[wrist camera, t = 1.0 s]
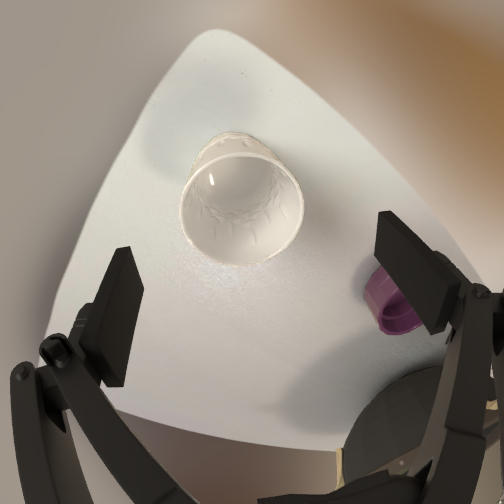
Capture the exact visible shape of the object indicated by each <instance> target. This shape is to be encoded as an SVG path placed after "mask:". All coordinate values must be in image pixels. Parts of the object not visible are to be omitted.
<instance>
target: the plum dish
mask: <svg viewBox="0 0 504 504" xmlns="http://www.w3.org/2000/svg"><path fill="white" fill-rule="evenodd" d="M364 299H365V302H366V305H367V307H368V309H369V311H370V312H371V314H372V316H373V318H374V320H375V322H376V323H377V325H378V327H379V329H380V330H381V331H383V332H384V333H386V334H387V335H401V334H404V333H408V332H410V331H412V330H414V329H416V328H417V327H419V326H421V325H422V324H423V323H422V321H421V320H420V318H419V317H418V315H417V314H416V312H415V311H414V309H413V308H412V307H411V305H410V304H409V302H408V301H407V299H406V298H405V297H404V295H403V294H402V292H401V291H400V290H399V288H398V287H397V285H396V284H395V283H394V281H393V280H392V279H391V277H390V276H389V274H388V273H387V272H386V270H385V269H384V268H383V266H381V267H380V268H379V269H378V270H377V271H376V272H375V273H374V274H373V275H372V276H371V278H370V280H369V281H368V283H367V285H366V287H365V294H364Z"/></svg>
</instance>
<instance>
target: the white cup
mask: <svg viewBox="0 0 504 504" xmlns="http://www.w3.org/2000/svg"><path fill="white" fill-rule="evenodd" d="M303 216H304V198H303V194H302V190H301V188H300V185H299V183H298V182H297V180H296V178H295V177H294V176H293V174H292V173H291V172H290V171H289V170H288V169H287V168H286V167H285V166H284V165H283V163H282V162H281V161H280V160H279V159H278V158H277V157H276V156H275V155H274V154H273V153H272V152H271V151H270V150H269V149H268V148H267V147H265V146H264V145H263V144H262V143H260V142H259V141H257V140H256V139H254V138H253V137H251V136H249V135H248V134H244V133H235V132H228V133H225V134H222V135H219V136H216V137H213V138H212V139H211V140H210V141H209V142H208V143H207V144H206V145H205V146H204V147H203V148H202V149H201V150H200V153H199V155H198V156H197V158H196V160H195V162H194V164H193V166H192V168H191V171H190V174H189V176H188V179H187V182H186V184H185V187H184V190H183V193H182V196H181V199H180V204H179V219H180V224H181V228H182V231H183V233H184V235H185V237H186V239H187V240H188V242H189V243H190V244H191V246H192V247H193V248H194V249H195V250H196V251H197V252H199V253H200V254H201V255H203V256H204V257H206V258H207V259H209V260H211V261H214V262H216V263H219V264H223V265H227V266H237V267H241V266H251V265H256V264H259V263H262V262H265V261H267V260H270V259H271V258H273V257H275V256H277V255H278V254H280V253H281V252H282V251H283V250H284V249H286V248H287V247H288V246H289V245H290V243H291V242H292V241H293V240H294V238H295V237H296V235H297V233H298V231H299V229H300V227H301V224H302V221H303Z"/></svg>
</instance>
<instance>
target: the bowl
mask: <svg viewBox="0 0 504 504" xmlns="http://www.w3.org/2000/svg"><path fill="white" fill-rule="evenodd" d="M442 370H443V366H439V367H431V368H428V369H424V370H421V371H418V372H414V373H412V374H410V375H408V376H405V377H403V378H401V379H399V380H398V381H396V382H395V383H393V384H391V385H390V386H388V387H387V388H386V389H385V390H383V391H382V392H381V393H379V394H378V395H377V396H376V397H375V398H374V399H373V400H372V401H371V402H370V403H369V404H368V405H367V407H366V408H365V409H364V410H363V411H362V413H361V414H360V415H359V417H358V418H357V420H356V422H355V424H354V426H353V428H352V429H351V431H350V433H349V435H348V437H347V439H346V441H345V444H344V447H343V448H341V447H340V448H338V449H336V454H337V487H336V490H337V489H339V488H341V487H343V486H345V485H346V484H348V483H350V482H352V481H354V480H356V479H357V478H360V477H364V476H367V475H370V474H373V473H376V472H379V471H382V470H385V469H388V472H389V475H390V474H400V475H407V474H408V472H409V470H410V468H411V467H412V465H413V463H414V462H415V460H416V457H417V455H418V452H419V449H420V447H421V444H422V441H423V438H424V435H425V432H426V429H427V426H428V422H429V419H430V416H431V413H432V409H433V406H434V402H435V398H436V395H437V391H438V387H439V383H440V379H441V375H442ZM482 436H483V437H485V438H486V441H487V442H486V449H485V451H486V450H487V449H489V448H490V447H491V446H492V445H494V444H495V443H496V442H497V441H498V440H499V439H500V430H499V417H498V407H497V398H496V390H495V383H494V378H492V377H490V382H489V390H488V398H487V405H486V412H485V418H484V424H483V429H482Z"/></svg>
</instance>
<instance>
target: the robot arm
mask: <svg viewBox="0 0 504 504" xmlns="http://www.w3.org/2000/svg"><path fill="white" fill-rule="evenodd" d="M374 256H375V257H376V258H377V260H378V261H379V262H380V264H381V265H382V266H383V268H384V269H385V270H386V272H387V273H388V274H389V276H390V277H391V279H392V280H393V281H394V283H395V284H396V285H397V287H398V288H399V290H400V291H401V292H402V294H403V295H404V297H405V298H406V299H407V301H408V302H409V304H410V305H411V307H412V308H413V309H414V311H415V312H416V314H417V315H418V317H419V318H420V320H421V321H422V323H423V324H424V326H425V327H426V329H427V330H428V332H429V333H430V335H434V334H437V333H440V332H443V331H444V330H445V328H446V325H447V323H448V321H449V323H450V324H451V325H452V329H451V331H450V334H449V336H448V338H447V341H446V343H445V344H446V345H447V344H448V346H447V351H446V356H445V361H444V366H443V370H442V375H441V379H440V383H439V387H438V391H437V395H436V398H435V402H434V406H433V409H432V413H431V416H430V419H429V422H428V426H427V429H426V432H425V435H424V438H423V441H422V444H421V447H420V449H419V452H418V455H417V457H416V460H415V462H414V463H413V465H412V467H411V468H410V470H409V472H408V474H407V475H400V474H390V475H389V472H388V469H385V470H382V471H379V472H376V473H373V474H370V475H367V476H364V477H360V478H357V479H356V480H354V481H352V482H350V483H348V484H346V485H345V486H343V487H341V488H339V489H337V490H335V491H333V492H331V493H329V494H324V495H308V494H307V495H306V494H304V495H303V494H288V495H282V496H275V497H268V498H262V499H257V501H258V504H471V502H472V498H473V495H474V492H475V489H476V485H477V481H478V478H479V474H480V470H481V466H482V462H483V458H484V453H485V449H486V442H487V441H486V438H485V437H483V436H482V429H483V424H484V418H485V412H486V405H487V398H488V390H489V382H490V371H491V364H492V370H493V376H494V383H495V390H496V398H497V407H498V417H499V430H500V451H501V479H502V487H503V493H502V495H501V497H500V500H499V501H498V503H497V504H504V289H503V292H502V293H491V291H490V290H489V289H488V288H487V287H486V286H484V285H482V284H478V283H473V284H472V283H471V282H470V281H469V280H468V279H467V278H466V277H465V276H464V274H463V273H462V272H461V271H460V270H459V269H458V268H456V266H455V265H454V264H453V263H451V261H450V260H449V259H448V258H447V257H446V256H445V255H443V254H442V253H440V252H438V251H432V250H431V249H430V248H429V247H428V246H427V245H426V244H425V243H424V242H423V241H422V240H421V239H420V238H419V237H418V236H417V235H416V234H415V233H414V232H413V231H412V230H411V229H410V228H409V227H408V226H407V225H406V224H405V223H404V222H402V221H401V220H400V219H399V218H398V217H397V216H396V215H395V214H394V213H393V212H392V211H382V212H379V213H378V223H377V233H376V242H375V251H374ZM143 292H144V287H143V284H142V281H141V278H140V275H139V272H138V269H137V266H136V263H135V260H134V257H133V254H132V251H131V248H130V246H128V247H122V248H117V249H116V251H115V253H114V255H113V257H112V260H111V262H110V264H109V266H108V268H107V271H106V273H105V275H104V278H103V280H102V282H101V285H100V287H99V290H98V292H97V294H96V297H95V299H94V302H93V303H86V304H85V305H84V306H83V307H82V308H81V309H80V310H79V312H78V315H77V317H76V321H75V322H74V324H73V328H72V329H71V332H70V334H69V337H68V339H67V337H66V336H65V335H64V334H60V333H57V334H52V335H50V336H48V337H47V338H46V339H45V340H44V341H43V342H42V343H41V345H40V348H39V354H40V355H41V357H42V358H43V360H44V361H45V362H46V364H47V365H45V366H42V367H39V368H35V367H34V365H33V364H32V363H31V362H27V361H25V362H21V363H20V364H18V365H17V366H16V367H15V368H14V369H13V370H12V372H11V376H10V395H11V412H12V426H13V436H14V444H15V451H16V459H17V464H18V471H19V476H20V481H21V486H22V491H23V496H24V500H25V504H94V503H93V500H92V498H91V495H90V492H89V490H88V487H87V484H86V481H85V478H84V475H83V472H82V469H81V466H80V462H79V459H78V456H77V453H76V449H75V446H74V442H73V438H72V435H71V430H70V426H69V422H68V418H67V413H66V410H67V409H71V411H72V412H73V414H74V416H75V418H76V420H77V421H78V423H79V425H80V426H81V428H82V430H83V431H84V433H85V435H86V436H87V438H88V439H89V441H90V443H91V444H92V446H93V447H94V449H95V450H96V452H97V454H98V455H99V456H100V458H101V459H102V461H103V462H104V464H105V465H106V467H107V468H108V470H109V471H110V472H111V474H112V475H113V476H114V478H115V479H116V480H117V482H118V483H119V485H120V486H121V487H122V488H123V490H124V491H125V492H126V494H127V495H128V496H129V497H130V499H131V500H132V501H133V502H134V503H135V504H200V503H199V502H198V501H197V500H196V499H195V498H194V497H193V496H192V495H191V494H190V493H189V492H188V491H187V490H185V488H184V487H182V485H180V483H179V482H178V481H177V480H176V479H174V477H173V476H172V475H171V474H170V473H169V472H168V471H167V470H166V469H165V468H164V467H163V466H162V465H161V463H160V462H159V461H158V460H157V459H156V458H155V457H154V456H153V455H152V453H151V452H150V451H149V450H148V449H147V448H146V447H145V445H144V444H143V443H142V442H141V441H140V439H139V438H138V437H137V436H136V435H135V433H134V432H133V431H132V430H131V428H130V427H129V426H128V425H127V423H126V422H125V421H124V419H123V418H122V417H121V416H120V414H119V413H118V412H117V410H116V409H115V408H114V406H113V405H112V404H111V402H110V401H109V399H108V398H107V397H106V395H105V394H104V392H103V391H102V390H101V388H100V384H101V380H102V381H103V382H104V383H105V385H106V386H107V387H124V381H125V376H126V370H127V365H128V360H129V355H130V350H131V345H132V340H133V335H134V331H135V326H136V322H137V317H138V313H139V309H140V304H141V300H142V296H143Z"/></svg>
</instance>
